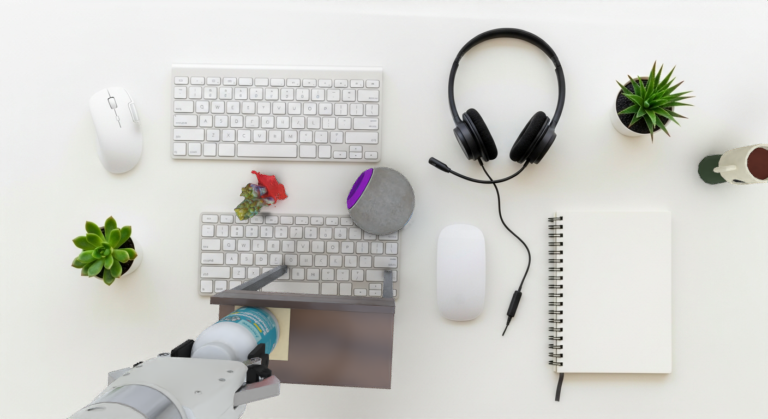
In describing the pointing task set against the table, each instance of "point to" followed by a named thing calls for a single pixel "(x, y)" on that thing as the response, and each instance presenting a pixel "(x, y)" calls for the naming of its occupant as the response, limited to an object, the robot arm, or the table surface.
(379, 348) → the shelf
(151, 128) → the table surface
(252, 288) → the shelf stand
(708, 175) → the character mug
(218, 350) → the pill bottle
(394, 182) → the grey smart speaker
